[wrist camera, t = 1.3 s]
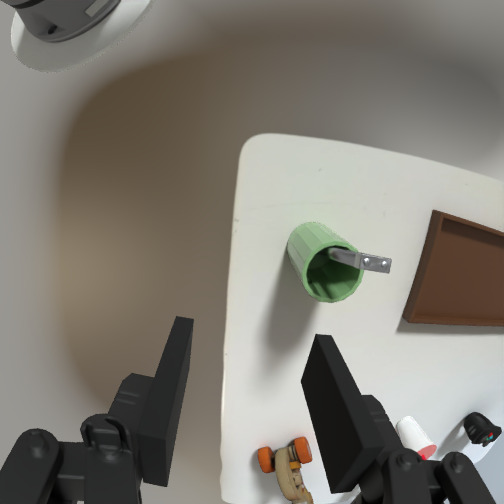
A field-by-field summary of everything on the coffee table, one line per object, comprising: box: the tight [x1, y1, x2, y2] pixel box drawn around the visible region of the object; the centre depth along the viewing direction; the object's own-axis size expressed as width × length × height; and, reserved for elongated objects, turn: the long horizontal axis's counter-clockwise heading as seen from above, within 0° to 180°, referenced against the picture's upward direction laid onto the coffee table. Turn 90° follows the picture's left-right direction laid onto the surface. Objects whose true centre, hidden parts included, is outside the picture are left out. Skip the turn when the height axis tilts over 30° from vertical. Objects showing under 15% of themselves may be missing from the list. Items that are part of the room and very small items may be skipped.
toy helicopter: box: [258, 437, 314, 504], centre depth 41 cm, size 8×21×14 cm, turn 20°
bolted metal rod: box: [316, 247, 392, 273], centre depth 27 cm, size 2×1×16 cm, turn 80°
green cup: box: [287, 222, 364, 303], centre depth 31 cm, size 6×6×9 cm
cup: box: [397, 416, 437, 460], centre depth 40 cm, size 5×5×12 cm
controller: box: [464, 412, 502, 447], centre depth 44 cm, size 4×12×10 cm, turn 65°
